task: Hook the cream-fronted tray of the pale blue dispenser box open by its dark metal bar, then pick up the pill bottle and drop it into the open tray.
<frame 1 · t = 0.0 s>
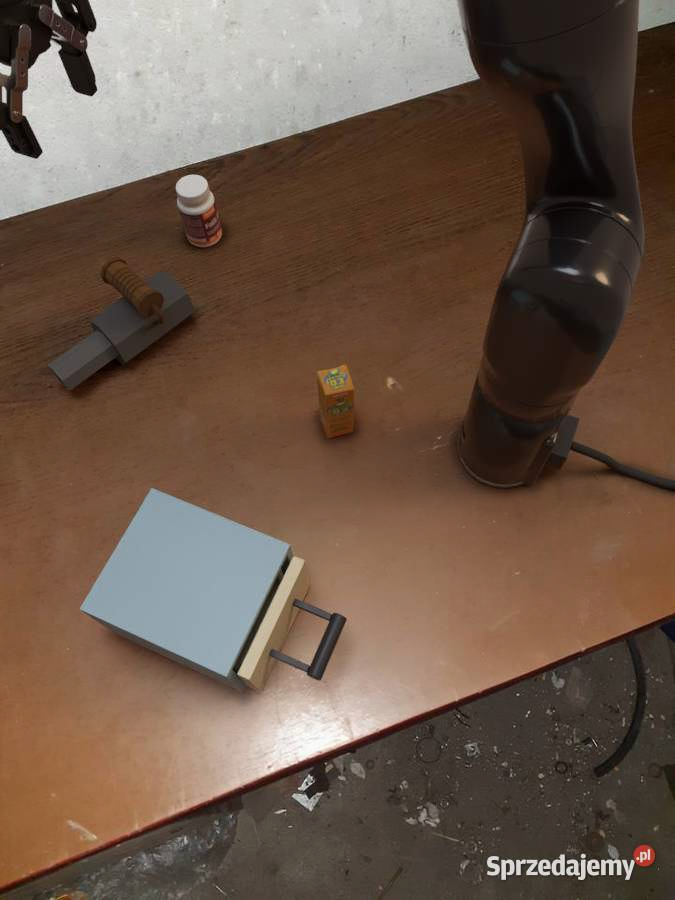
hand: (59, 122, 60), 29 cm above the table, tool pointing down, fingers open, 8 cm apart
mechanical component: (128, 349, 85), on the table
pill bottle: (205, 236, 93), on the table
dispenser: (207, 603, 70), on the table
supplement box: (337, 426, 79), on the table
dispenser tray: (243, 610, 65), point 5 cm above the table, slide at 0.5 cm
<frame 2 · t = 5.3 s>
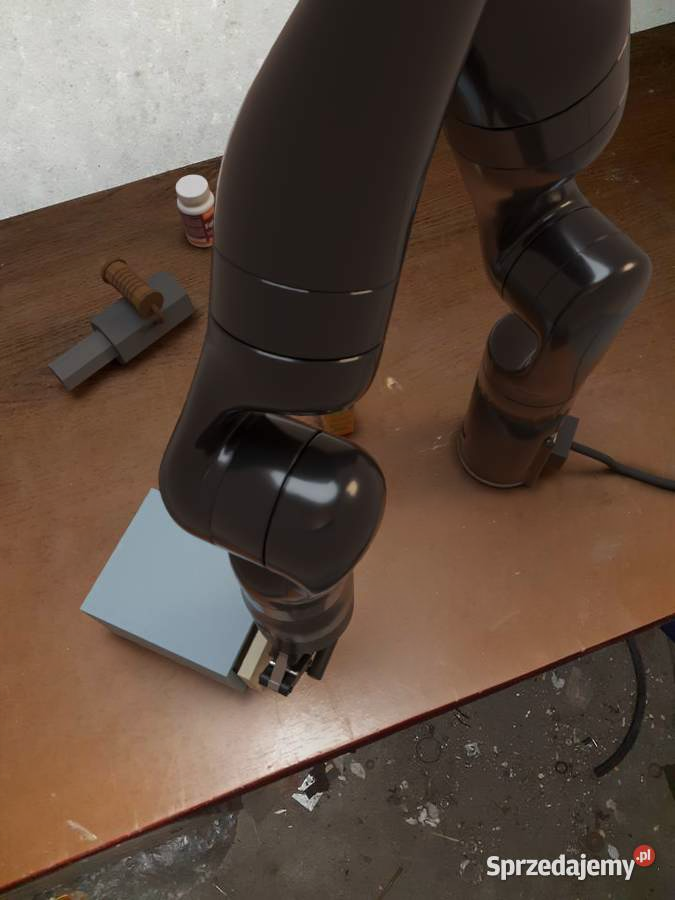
hand: (312, 639, 63), 6 cm above the table, tool pointing down, fingers closed
dispenser tray: (243, 610, 65), point 5 cm above the table, slide at 0.5 cm, touching gripper
everything else where it was.
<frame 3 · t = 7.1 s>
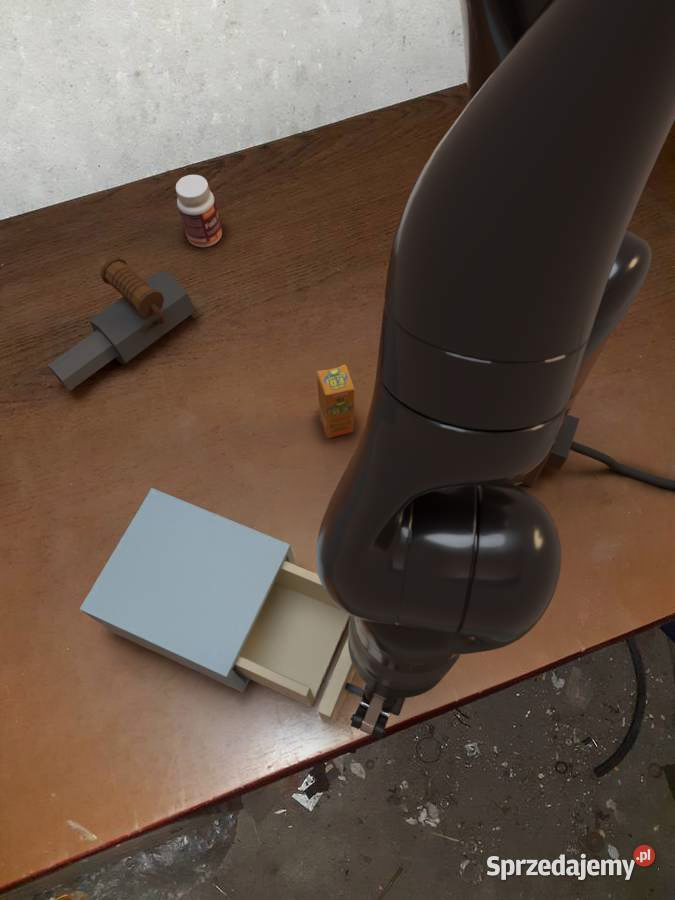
hand: (389, 672, 61), 6 cm above the table, tool pointing down, fingers closed
dispenser tray: (315, 641, 63), point 5 cm above the table, slide at 7.9 cm, touching gripper
everything else where it was.
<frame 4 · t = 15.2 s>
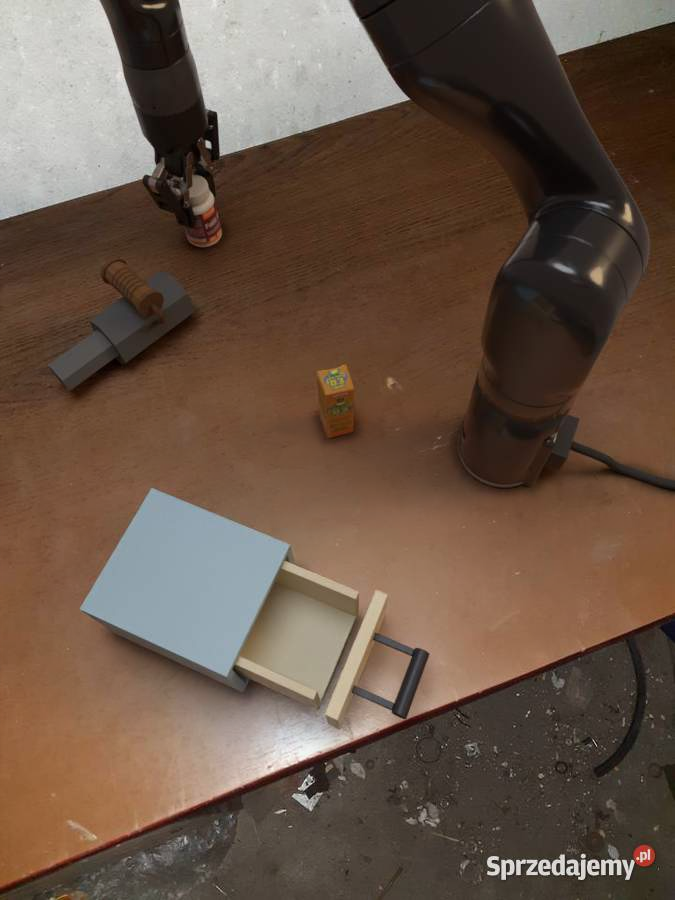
hand: (198, 210, 89), 4 cm above the table, tool pointing down, fingers closed on pill bottle, 4 cm apart
pill bottle: (205, 236, 93), on the table, touching gripper
dispenser tray: (321, 644, 63), point 5 cm above the table, slide at 8.6 cm
everything else where it was.
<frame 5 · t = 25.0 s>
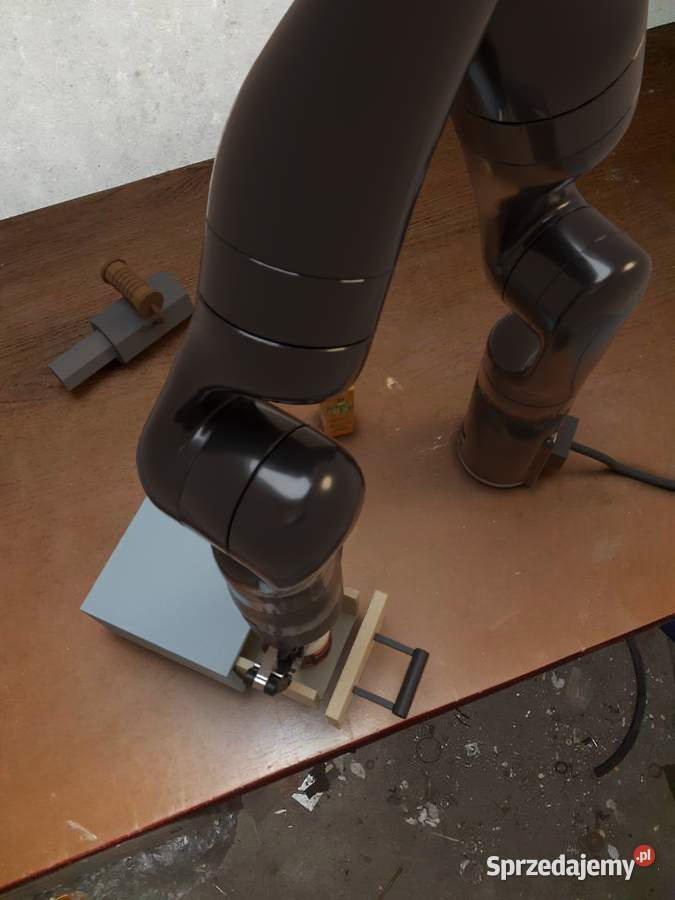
hand: (305, 632, 62), 7 cm above the table, tool pointing down, fingers closed on pill bottle, 4 cm apart
pill bottle: (307, 642, 66), point 2 cm above the table, touching gripper
everything else where it was.
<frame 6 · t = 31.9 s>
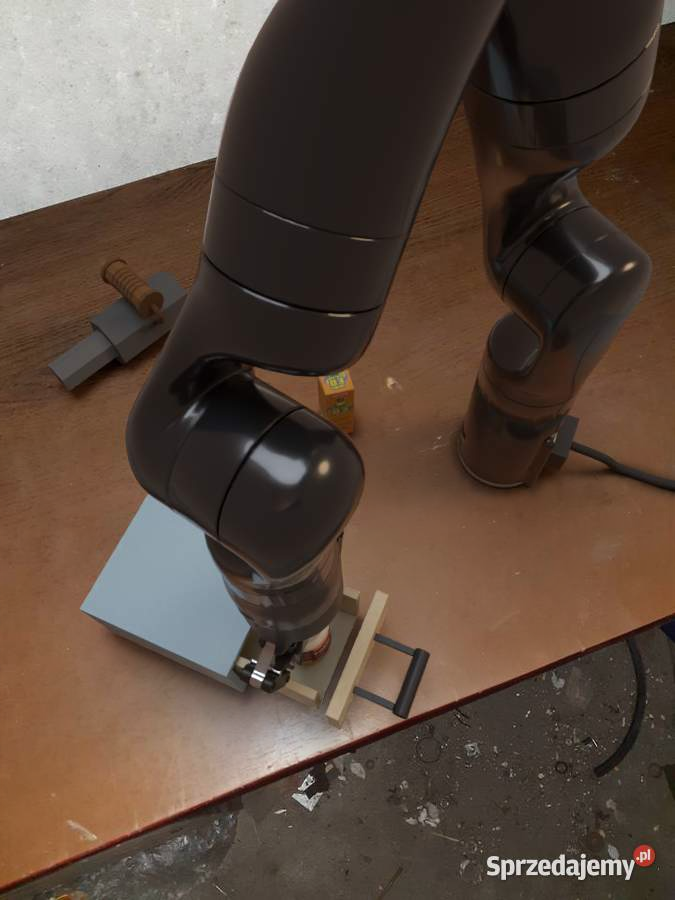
hand: (304, 628, 60), 9 cm above the table, tool pointing down, fingers closed on pill bottle, 4 cm apart
pill bottle: (306, 638, 64), point 4 cm above the table, touching gripper
everything else where it was.
when the fingers open (9 cm above the table, at t = 38.4 s): pill bottle drops 3 cm, resting on dispenser tray.
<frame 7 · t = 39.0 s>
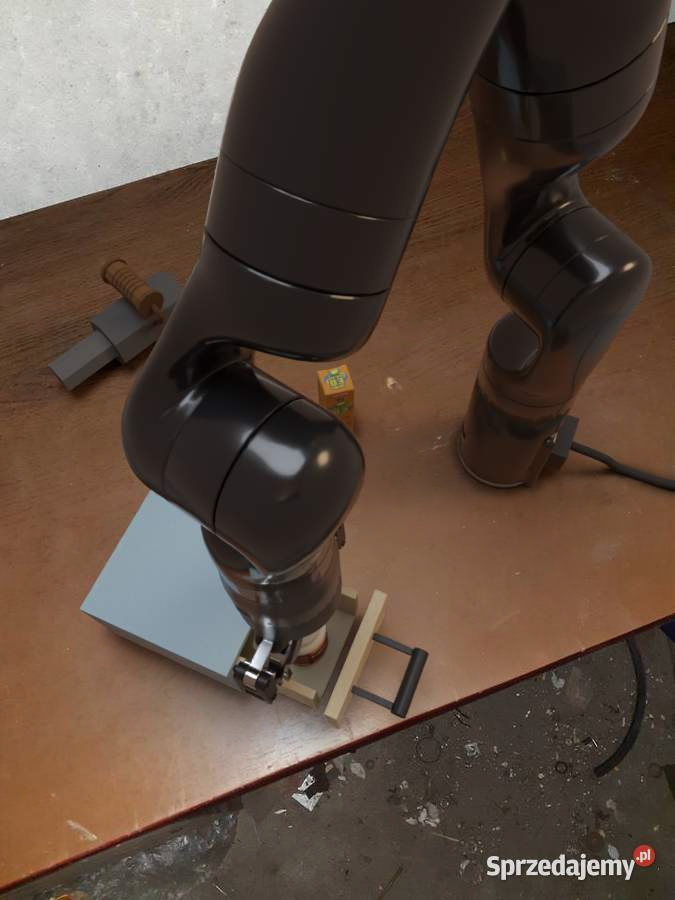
hand: (301, 624, 59), 10 cm above the table, tool pointing down, fingers open, 8 cm apart
pill bottle: (304, 642, 66), point 2 cm above the table, touching dispenser tray
dispenser tray: (321, 644, 63), point 5 cm above the table, slide at 8.5 cm, touching pill bottle
everything else where it was.
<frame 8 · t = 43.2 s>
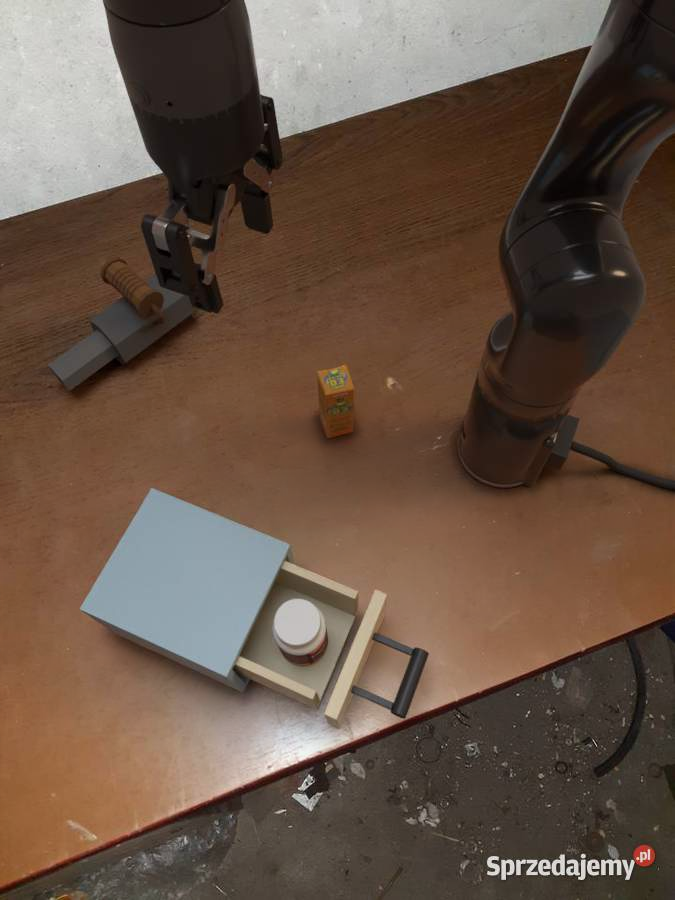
hand: (235, 266, 54), 28 cm above the table, tool pointing down, fingers open, 8 cm apart
nothing on the table moved.
at the end: dispenser tray slide at 8.5 cm; pill bottle inside the target area in the dispenser tray (0.6 cm from its centre), point 1.8 cm above the dispenser's base; the gripper is holding nothing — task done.
